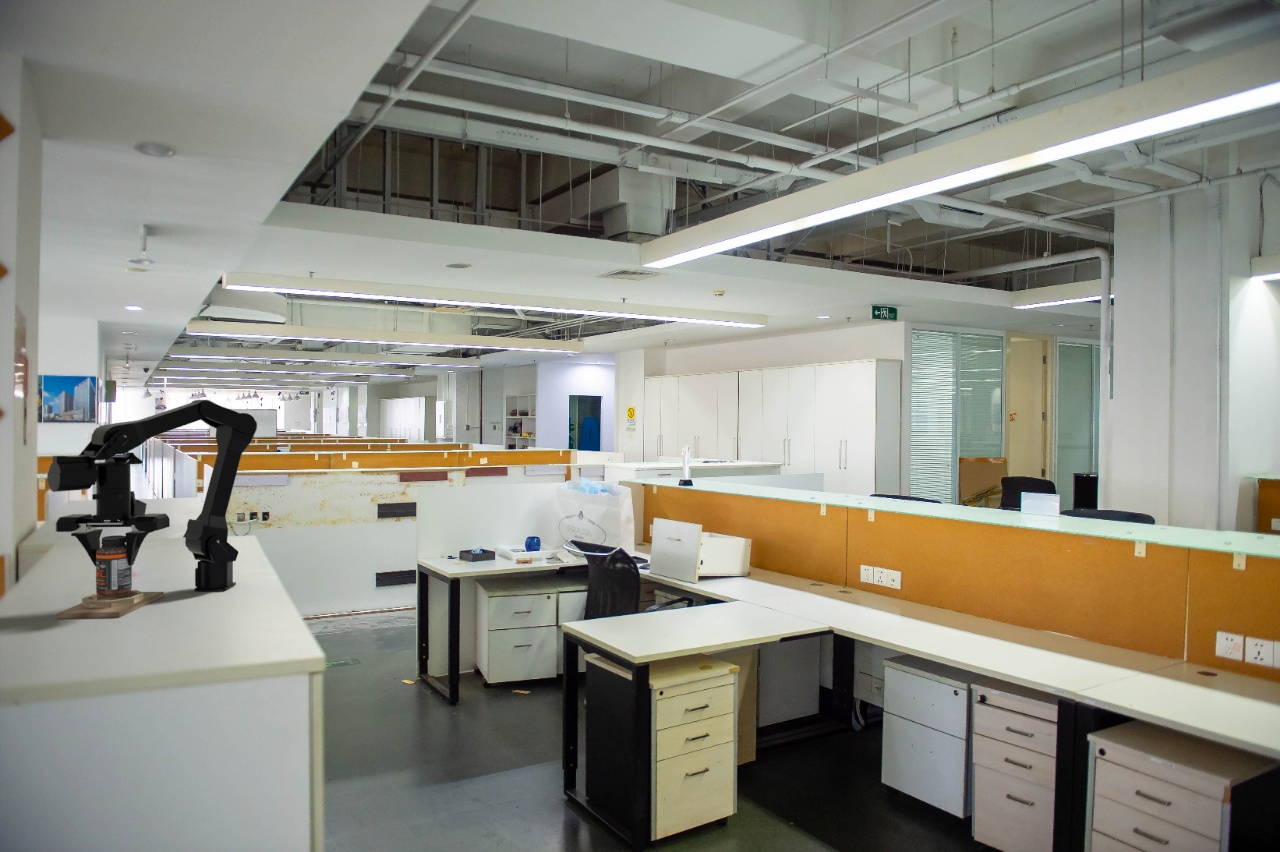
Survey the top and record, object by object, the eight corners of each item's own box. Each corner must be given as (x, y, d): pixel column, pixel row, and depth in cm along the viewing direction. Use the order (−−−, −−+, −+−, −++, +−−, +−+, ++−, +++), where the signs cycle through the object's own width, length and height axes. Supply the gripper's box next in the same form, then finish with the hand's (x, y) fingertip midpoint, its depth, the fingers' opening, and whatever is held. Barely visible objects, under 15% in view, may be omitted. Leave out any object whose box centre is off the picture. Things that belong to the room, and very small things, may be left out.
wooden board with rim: (163, 596, 166) (163, 585, 166) (119, 617, 149) (119, 605, 149) (108, 597, 165) (108, 586, 165) (57, 618, 148) (57, 606, 148)
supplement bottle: (89, 594, 156) (89, 537, 155) (121, 588, 161) (120, 533, 161) (106, 597, 153) (106, 540, 153) (138, 591, 158) (137, 535, 158)
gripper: (182, 483, 165) (182, 557, 166) (87, 484, 163) (88, 558, 164) (155, 489, 154) (155, 568, 155) (53, 489, 152) (54, 569, 153)
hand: (114, 565), depth 157 cm, fingers closed on supplement bottle, 6 cm apart
